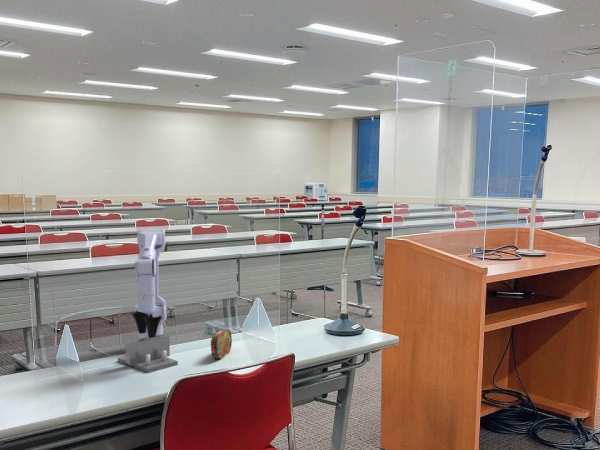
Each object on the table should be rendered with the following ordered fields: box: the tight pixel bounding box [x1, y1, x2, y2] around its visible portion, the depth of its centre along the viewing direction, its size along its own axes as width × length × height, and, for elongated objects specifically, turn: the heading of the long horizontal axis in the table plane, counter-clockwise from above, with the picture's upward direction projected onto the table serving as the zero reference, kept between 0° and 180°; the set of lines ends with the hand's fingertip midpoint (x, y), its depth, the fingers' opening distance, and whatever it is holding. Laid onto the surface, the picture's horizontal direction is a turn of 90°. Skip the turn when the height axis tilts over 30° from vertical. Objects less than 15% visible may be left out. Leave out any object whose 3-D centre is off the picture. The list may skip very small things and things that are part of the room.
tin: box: [210, 328, 233, 360], centre depth 187 cm, size 15×3×8 cm, turn 168°
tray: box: [117, 350, 178, 374], centre depth 179 cm, size 19×11×4 cm, turn 48°
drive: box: [124, 333, 171, 365], centre depth 179 cm, size 4×14×7 cm, turn 130°
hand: (147, 335), depth 178 cm, fingers open, 7 cm apart
